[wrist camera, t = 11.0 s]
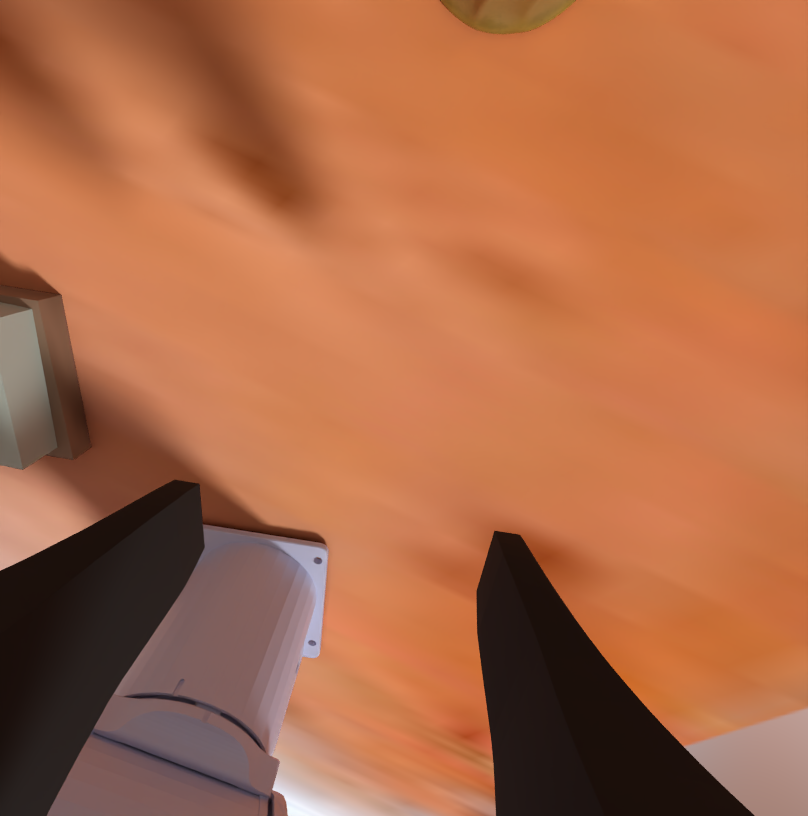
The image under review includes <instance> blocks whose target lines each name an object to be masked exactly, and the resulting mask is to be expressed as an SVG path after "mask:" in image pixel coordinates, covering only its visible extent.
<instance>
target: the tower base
mask: <svg viewBox="0 0 808 816" xmlns="http://www.w3.org/2000/svg"><path fill="white" fill-rule="evenodd" d="M0 302H2V303H7V304H11V305H16V306H21V307H26V308H30V309H32V311H33V317H34V322H35V327H36V333H37V338H38V344H39V349H40V355H41V360H42V366H43V371H44V377H45V382H46V387H47V393H48V398H49V404H50V409H51V415H52V420H53V426H54V431H55V436H56V442H57V448H56V449H54V450H53V451H51V452H50V453H48V454H46V455H47V456H53V457H59V458H65V459H71V460H74V459H75V458H77V457H78V456H80V455H81V454H82V453H84V452H85V451H87V450H88V449H90V448H91V443H90V438H89V433H88V428H87V423H86V418H85V413H84V408H83V402H82V397H81V392H80V387H79V382H78V377H77V372H76V367H75V362H74V356H73V351H72V346H71V341H70V336H69V331H68V326H67V321H66V316H65V310H64V305H63V300H62V295H59V294H53V293H47V292H41V291H35V290H29V289H22V288H16V287H10V286H4V285H0Z"/></svg>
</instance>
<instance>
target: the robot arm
mask: <svg viewBox="0 0 808 816" xmlns="http://www.w3.org/2000/svg"><path fill="white" fill-rule="evenodd" d="M328 552H329V550H328V547H327V546H326V545H325V544H322V543H318V542H312V541H306V540H299V539H293V538H287V537H280V536H274V535H268V534H261V533H255V532H249V531H242V530H236V529H230V528H223V527H217V526H211V525H204V524H203V520H202V508H201V496H200V485H199V484H198V483H192V482H185V481H179V480H173V481H171V482H169V483H167V484H165V485H164V486H162V487H160V488H158V489H156V490H154V491H153V492H151V493H149V494H147V495H145V496H144V497H142V498H140V499H138V500H136V501H135V502H133V503H131V504H129V505H127V506H126V507H124V508H122V509H120V510H119V511H117V512H115V513H113V514H111V515H109V516H108V517H106V518H104V519H102V520H100V521H98V522H97V523H95V524H93V525H91V526H89V527H88V528H86V529H84V530H82V531H80V532H78V533H76V534H74V535H72V536H70V537H68V538H66V539H64V540H62V541H60V542H58V543H56V544H54V545H52V546H50V547H49V548H47V549H45V550H43V551H41V552H39V553H37V554H35V555H33V556H31V557H29V558H27V559H25V560H23V561H20V562H18V563H16V564H14V565H12V566H10V567H8V568H5V569H3V570H1V571H0V816H288V815H287V806H286V801H285V799H284V796H283V795H282V794H280V793H278V792H276V791H273V790H272V788H273V785H274V781H275V778H276V774H277V771H278V767H279V764H280V761H279V760H278V759H276V758H274V757H272V755H273V752H274V749H275V746H276V743H277V740H278V736H279V733H280V730H281V726H282V723H283V720H284V716H285V713H286V710H287V706H288V703H289V700H290V696H291V693H292V690H293V686H294V683H295V680H296V676H297V673H298V670H299V666H300V663H301V660H302V657H309V658H316V657H318V656H319V653H320V649H321V637H322V625H323V613H324V601H325V589H326V576H327V564H328ZM316 557H319V558H321V559H318V558H316ZM477 634H478V642H479V650H480V658H481V666H482V673H483V681H484V688H485V696H486V703H487V711H488V718H489V726H490V733H491V741H492V752H493V762H494V780H495V801H496V816H754V815H753V814H752V813H751V812H750V811H749V810H748V809H747V808H746V807H745V806H743V804H742V803H740V802H739V801H738V800H737V799H736V798H735V797H734V796H733V795H732V794H731V793H730V792H729V791H728V790H726V789H725V788H724V787H723V786H722V785H721V784H720V783H719V782H718V781H717V780H716V779H715V778H714V777H713V776H712V775H711V774H710V773H709V772H708V771H707V770H706V769H705V768H704V767H703V766H702V765H701V764H699V762H698V761H697V760H696V759H695V758H694V757H693V756H692V755H691V754H690V753H689V752H688V751H687V750H686V749H685V748H684V747H683V746H682V745H681V744H680V743H679V741H678V740H677V739H676V738H675V737H674V736H673V735H672V734H671V733H670V732H669V731H668V730H667V729H666V728H665V727H664V726H663V725H662V724H661V723H660V722H659V721H658V719H657V718H656V717H655V716H654V715H653V714H652V713H651V712H650V711H649V710H648V709H647V708H646V706H645V705H644V704H643V703H642V702H641V701H640V700H639V698H638V697H637V696H636V695H635V694H634V693H633V691H632V690H631V689H630V688H629V687H628V686H627V684H626V683H625V682H624V681H623V680H622V679H621V678H620V676H619V675H618V674H617V673H616V672H615V670H614V669H613V668H612V667H611V666H610V664H609V663H608V662H607V661H606V659H605V658H604V657H603V656H602V654H601V653H600V652H599V650H598V649H597V648H596V646H595V645H594V644H593V642H592V641H591V640H590V639H589V637H588V636H587V635H586V633H585V632H584V630H583V629H582V628H581V626H580V625H579V624H578V622H577V621H576V619H575V618H574V617H573V615H572V614H571V612H570V611H569V609H568V608H567V606H566V605H565V604H564V602H563V601H562V599H561V598H560V596H559V595H558V593H557V592H556V590H555V589H554V587H553V586H552V584H551V583H550V581H549V580H548V578H547V577H546V575H545V573H544V572H543V570H542V569H541V567H540V566H539V564H538V562H537V561H536V559H535V558H534V556H533V554H532V553H531V551H530V550H529V548H528V546H527V545H526V543H525V542H524V540H523V539H522V537H521V536H520V535H518V534H512V533H505V532H499V531H494V535H493V538H492V541H491V545H490V548H489V551H488V555H487V558H486V561H485V565H484V568H483V571H482V575H481V578H480V582H479V585H478V588H477Z"/></svg>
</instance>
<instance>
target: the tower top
mask: <svg viewBox="0 0 808 816" xmlns="http://www.w3.org/2000/svg"><path fill="white" fill-rule="evenodd" d="M56 448H57V442H56V436H55V431H54V426H53V420H52V415H51V409H50V404H49V398H48V393H47V387H46V382H45V377H44V371H43V366H42V360H41V355H40V349H39V344H38V338H37V333H36V327H35V322H34V317H33V311H32V309H30V308H26V307H21V306H16V305H11V304H7V303H2V302H0V465H2V466H7V467H12V468H17V469H22V470H23V469H25V468H26V467H28V466H30V465H31V464H33V463H34V462H36V461H37V460H39V459H40V458H42V457H43V456H45V455H46V454H48V453H50V452H51V451H53V450H54V449H56Z"/></svg>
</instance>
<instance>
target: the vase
mask: <svg viewBox="0 0 808 816" xmlns="http://www.w3.org/2000/svg"><path fill="white" fill-rule="evenodd" d="M440 1H441V2H442V3H443V4H444V6H445V7H446V8H447V9H448V10H449V11H450V12H451V13H452V14H453V15H454V16H456V17H457V18H458V19H459V20H461V21H462V22H463V23H465V24H466V25H468V26H470V27H472V28H474V29H476V30H479V31H482V32H487V33H492V34H512V33H521V32H526V31H531V30H533V29H535V28H538V27H540V26H542V25H544V24H545V23H547V22H549V21H551V20H552V19H554V18H555V17H557V16H558V15H559V14H561V13H562V12H563V11H565V10H566V9H567V8H568V7H569V6H571V5H572V4H573V3H574V2H575V1H576V0H440Z"/></svg>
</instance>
